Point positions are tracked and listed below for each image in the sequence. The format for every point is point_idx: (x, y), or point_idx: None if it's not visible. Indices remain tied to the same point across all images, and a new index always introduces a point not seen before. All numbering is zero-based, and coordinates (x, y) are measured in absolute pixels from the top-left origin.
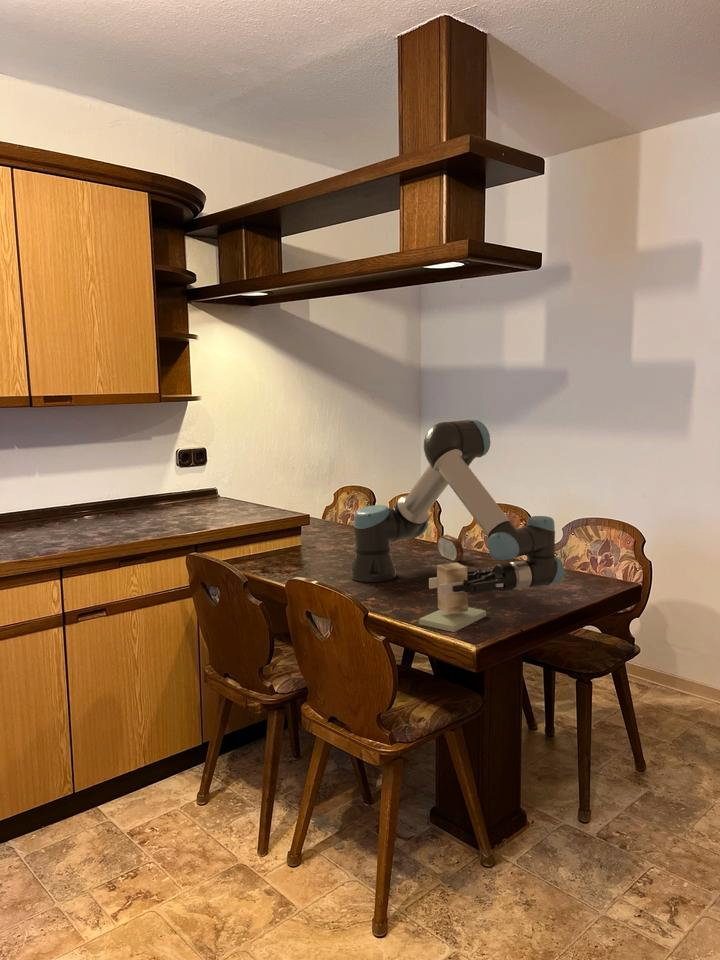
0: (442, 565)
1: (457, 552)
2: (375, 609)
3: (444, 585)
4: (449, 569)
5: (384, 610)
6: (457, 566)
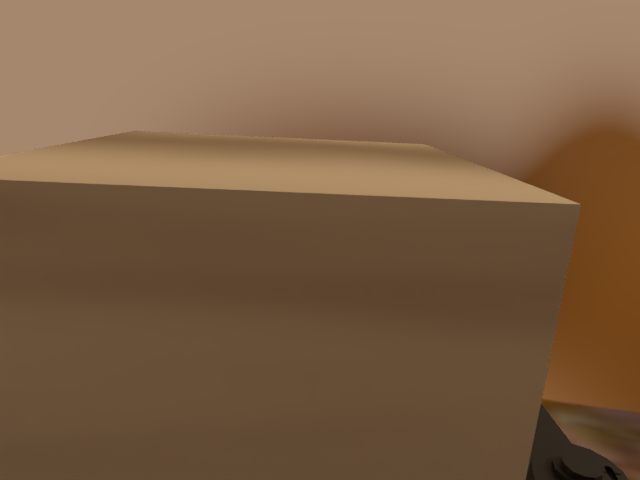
0: (375, 146)
1: None
2: (614, 410)
3: None
4: (122, 133)
5: (600, 432)
6: (184, 160)
